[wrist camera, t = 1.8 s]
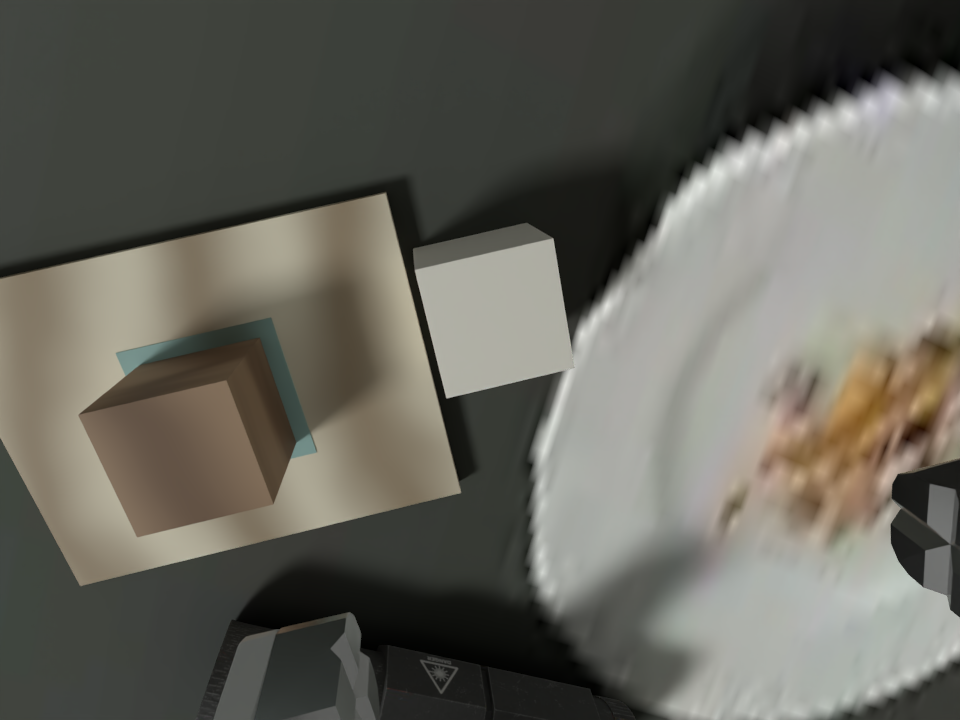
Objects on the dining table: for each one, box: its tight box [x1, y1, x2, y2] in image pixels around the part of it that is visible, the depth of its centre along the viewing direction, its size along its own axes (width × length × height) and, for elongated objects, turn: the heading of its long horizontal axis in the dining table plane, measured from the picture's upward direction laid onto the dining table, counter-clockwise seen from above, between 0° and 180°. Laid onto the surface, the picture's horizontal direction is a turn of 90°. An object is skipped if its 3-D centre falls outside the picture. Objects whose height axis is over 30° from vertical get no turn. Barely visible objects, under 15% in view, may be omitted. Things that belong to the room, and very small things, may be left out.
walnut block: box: [78, 337, 296, 537], centre depth 24 cm, size 5×5×5 cm
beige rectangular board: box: [0, 192, 461, 586], centre depth 26 cm, size 18×14×1 cm
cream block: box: [413, 223, 574, 398], centre depth 25 cm, size 5×5×5 cm
